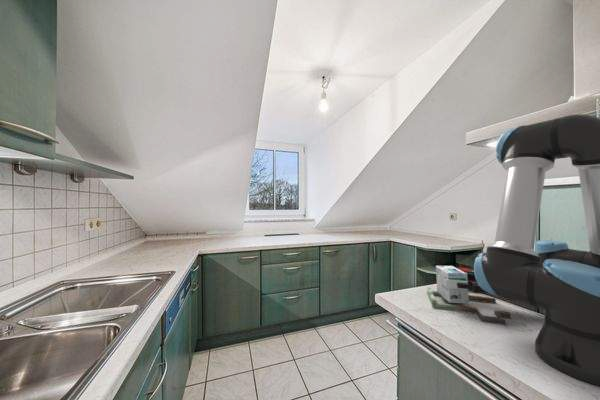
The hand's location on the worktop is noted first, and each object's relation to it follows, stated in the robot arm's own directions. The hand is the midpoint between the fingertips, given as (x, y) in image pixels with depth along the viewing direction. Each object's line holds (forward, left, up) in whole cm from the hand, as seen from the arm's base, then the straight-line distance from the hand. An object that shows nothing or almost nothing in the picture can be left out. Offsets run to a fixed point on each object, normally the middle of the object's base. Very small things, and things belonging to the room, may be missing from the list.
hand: (442, 277), depth 90 cm
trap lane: (0, -7, -9) cm, 11 cm away
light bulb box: (0, -3, -7) cm, 8 cm away
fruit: (+20, -11, -9) cm, 25 cm away
